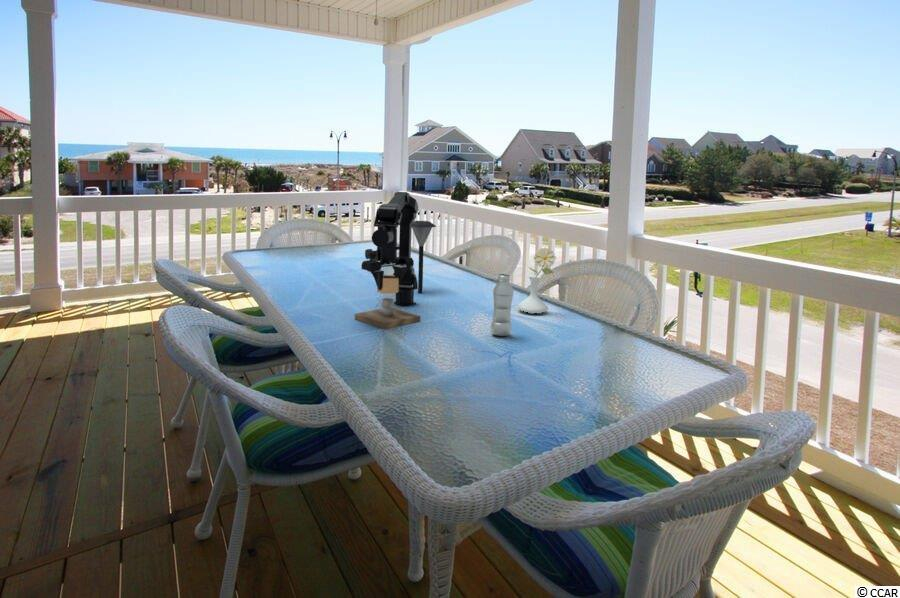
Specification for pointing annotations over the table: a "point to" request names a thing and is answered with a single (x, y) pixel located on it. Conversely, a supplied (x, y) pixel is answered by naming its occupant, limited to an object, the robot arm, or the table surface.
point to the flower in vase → (533, 302)
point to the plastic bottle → (502, 306)
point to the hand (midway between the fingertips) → (387, 288)
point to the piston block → (387, 316)
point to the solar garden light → (421, 245)
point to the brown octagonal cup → (389, 284)
